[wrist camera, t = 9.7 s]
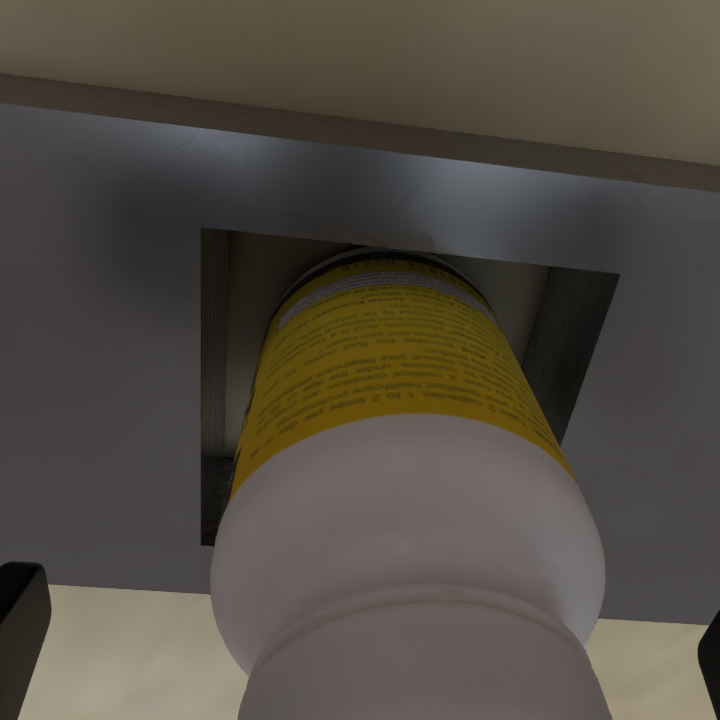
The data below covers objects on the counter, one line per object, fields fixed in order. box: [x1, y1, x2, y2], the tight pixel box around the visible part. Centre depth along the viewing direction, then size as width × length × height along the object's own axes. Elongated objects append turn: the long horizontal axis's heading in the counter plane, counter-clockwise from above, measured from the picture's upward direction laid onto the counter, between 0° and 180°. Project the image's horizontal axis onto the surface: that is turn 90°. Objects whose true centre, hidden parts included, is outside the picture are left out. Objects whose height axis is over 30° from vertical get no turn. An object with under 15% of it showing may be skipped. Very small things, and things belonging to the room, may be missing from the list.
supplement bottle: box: [210, 246, 613, 720], centre depth 10 cm, size 5×5×10 cm
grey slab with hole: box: [0, 74, 720, 625], centre depth 13 cm, size 18×10×3 cm, turn 83°
